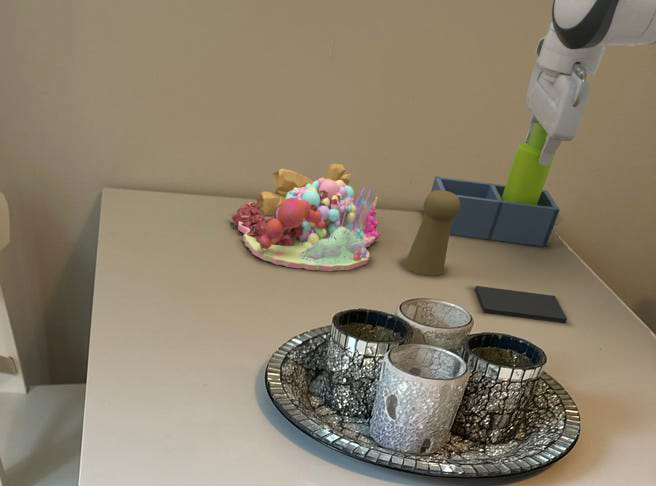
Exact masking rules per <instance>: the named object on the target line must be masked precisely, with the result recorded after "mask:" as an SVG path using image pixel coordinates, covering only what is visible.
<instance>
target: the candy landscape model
mask: <svg viewBox="0 0 656 486" xmlns="http://www.w3.org/2000/svg"><path fill="white" fill-rule="evenodd" d="M351 176H352V173H346V168H345V166H344V165H343V164H341V163H340V164H339V163H332V164H329V166H328V168H327V171H326V177H325V176H324V175H322V176H321V177H320V178H318V179H317V180H315V181H313V180H312V179H311V178H309V177H307V176H305V175H302V174H300V173H299V172H296V171H294V170H290V169H287V168H280V169H278V170H277V171H275V172H273V173H272V180H273V183H274V187H275V189H276V190H275V192H271V191H261V193H260V195H258V197H256V202H255V201H250V202H248V204H247V203H244V204H243V205H242V206H240V207H239V208H238V209H237V211H236V213H235V214H234V215H233V216H232V217H231V219H232V222H233V225H234V226H235V225H237V230H238V231H239V232H241V233H243V237H242V241H243V242H244V246H245V247H247V248H248V249H249V251H250V252H251V254H252V255H253V256H256V257H257V258H259V259H261V260H262V261H265V262H269V263H272V264H274V265H276V266H277V265H278V266H284V267H287V268H293V269H305V270H307V271H321V272H322V271H323V272H333V271H338V272H339V271H349V270H353V269H356V268H359V267H361V266H365V265H367V264H368V262H369V260H370V257H371V256H370V251H368V250H367V248H368V247H369V248H370V246H371V245H372V244H374V243H375V241H377V240H379V238H380V233H379V232H378V231H377V227H378V226H379V222H378V220H377V215H376V214H377V211H375V210H376V208H377V207H376V206H377V205H378V199H379V197H378V196H375V199H374V201H370V199H371V197H372V194H373V188H372V187H370V189H369V191H368V194H367V196H366V198H365V196H364V194H365V191H366V185H364V186H363V188H362V190H361V192H360V193H358V196H357V198H356V200H355V198H354V197H355V191H354V189H353V187H352V186H351V185H349V183H350V180H351ZM364 198H365V199H364ZM354 201H355V202H354Z"/></svg>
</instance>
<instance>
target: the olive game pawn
mask: <svg viewBox="0 0 656 486" xmlns="http://www.w3.org/2000/svg"><path fill="white" fill-rule="evenodd" d="M459 208H460V200H459V197H458V196H457V195H455V194H454V193H451V192H448V191H443V190H436V191H432V192H431V191H430V192H429V193H428V195H427V196H426V197H425V199H424V201H423V212H424V215H423V218H422V220H421V223H420V224H419V227H418V230H417V231H416V232H417V233H416V235H415V237H414V239H413V242H412V244H411V247H410V250H409V252H408V254H407V257H406V259H405V262H404V267H405V268H406V269H407V270H409V271H410V272H412V273H414V274H416V275H420V276H427V277H436V276H440V275H442V274H443V273H444V269H445V264H446V258H447V253H448V252H447V251H448V247H449V240H450V229H451V223H452V219H453V218H454V217H455V216H456V215H457V213H458V211H459Z"/></svg>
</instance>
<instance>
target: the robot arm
mask: <svg viewBox="0 0 656 486" xmlns="http://www.w3.org/2000/svg"><path fill="white" fill-rule="evenodd" d="M653 44H656V0H553V2H552V7H551V22H550V25H549V27H548V31H547V32H546V35H545V36H543V37H541V38H540V39H539V40H538V43H537V45H536V48H535V55H536V56H537V58H536V60H535V62H534V64H533V69H532V72H531V75H530V80H529V83H528V87H527V90H526V97H525V106H526V107H527V108H528V110H529V111H530V113H531V114H530V116H529V121H528V127H527V128H528V129H527V134H526V137H525V140H524V143H528V141H529V138H530V135H531V132H532V129H533V126H534V124H535V122H539V123H540V124H541V126H542V127H543V128H544V130H545V131H546V132H547V137H546V143H545V145H544V147H543V149H542V150H540V153H539V156H538V159H537V160H538V162H539V164H540V165H546V166H547V165H549V164H550V163H551V160H552V157H553V155H554V153H555V154H556V152H557V151H558V149H559V148H560V146H561V145H562V142H572V141H574V139H575V137H576V136H577V134H578V132H579V129H580V126H581V123H582V120H583V117H584V113H585V111H586V107H587V104H588V101H589V97H590V92H591V85H590V84H589V82H588V81H587V77H593V76H595V75H597V72H598V69H599V67H600V65H601V61H602V59H603V56H604V53H605V51H606V48H624V47H643V46H648V45H653ZM554 156H555V155H554Z"/></svg>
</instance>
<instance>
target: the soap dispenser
mask: <svg viewBox="0 0 656 486" xmlns="http://www.w3.org/2000/svg"><path fill="white" fill-rule="evenodd" d="M546 137H547V132H546V131H545V130H544V128H543V127H542V126H541V124H540V123H539V122H535V124H534V126H533V129H532V132H531V135H530V138H529V141H528V143H525V142H523V143H520V144H519V145H518V147H517V150H516V152H515V155H514V158H513V162H512V165H511V168H510V171H509V174H508V177H507V180H506V183H505V185H506V186H505V189H504V192H503V195H502V198H501V199H502V201H507V202H515V203H523V204H531V205H537V203H538V200H539V198H540V195H541V192H542V190H544V186H545V184H546V181H547V177H548V175H549V172H550V170H551V166H552V164H553V161H554V159H555V155H556V152H555V153H554V155H553V157H552V160H551V163H550V164H549V165H547V166H546V165H540V164H539V162H538V160H537V159H538V156H539V153H540V150H542V149H543V147H544V145H545V143H546Z"/></svg>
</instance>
